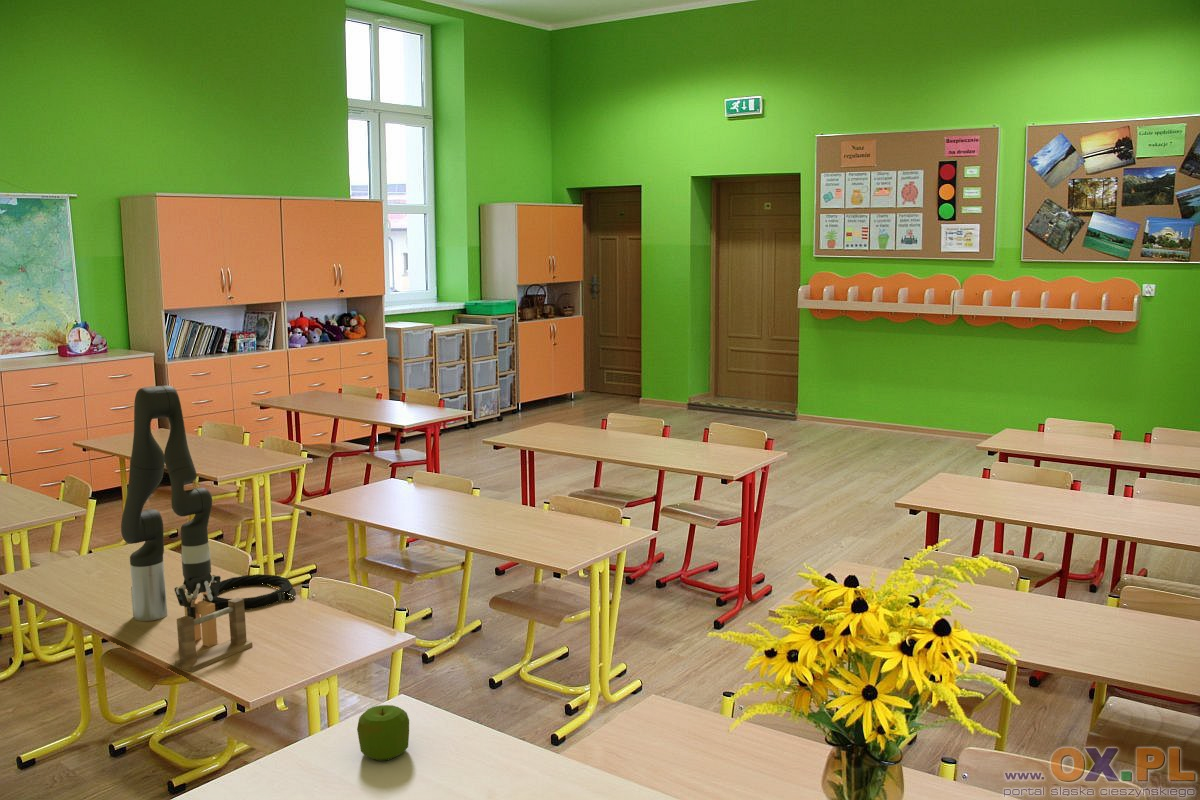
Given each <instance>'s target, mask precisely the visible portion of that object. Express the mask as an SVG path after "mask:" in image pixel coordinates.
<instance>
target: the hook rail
mask: <svg viewBox="0 0 1200 800" xmlns="http://www.w3.org/2000/svg"><path fill="white" fill-rule="evenodd" d="M230 599H231V600H229V601H228V607H227V608H224V609H218V610H217V611H216V610H215V612H214V613H211V614H208V615H205V616H203V617H201V616H200V618H197V619H194V618H193V617H190V616H185V615H184V616H182V617H179V618H176V628H177V629H176V631H177V640H178V642H177V643H178V655H179V660H176V661H174V662H173V663H174V667H175V668H178V669H181V670H185V671H188V672H190V673H191V672H193V671H194V672H195V671H196V670H199V669H201V668H203V667H206V666H208V665H210V664H213V663H216V662H219V661H220V660H223V659H225V658H227V657H230V656H232V655H234V654H235V655H236V654H238V653H239V652H242V651H244V650H246V649H249V648H252V647H253V641H251V640H250V641H249V640H247V628H246V627H247V625H246V611H245V610H246V609H245V608H244V599H242V598H240V597H234V598H230ZM227 614H228V619H229V621H228V622H229V633H230V634H229V635H230V639H229V640H227V641H224V642H221V643H219V644H218V643H217V644H215V645H212V646H210V647H209V648H205V649H204V650H201V651H198V652H197V647H196V645H197V644H196V641H195V631H194V626H195V625H198V624H200V625H201V623H203V622H206V621H209V620H211V619H214V618H216V619H217V618H219V617H222V616H224V615H227Z"/></svg>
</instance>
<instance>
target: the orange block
mask: <svg viewBox="0 0 1200 800" xmlns="http://www.w3.org/2000/svg"><path fill="white" fill-rule="evenodd" d="M194 607H195V614H196V619H197V618H200V617H203V616H205V615H208V614H211V613H214V612H216V608H215V604H214V603H210V602H207V601H203V599H198V598H197V599H196V600H195V604H194ZM183 610H184V616H187V607H184V606H183ZM194 631H195V642H196V641H199V640H201V639H202V646H205V647H209V648H211V647H213V646H216V645H218V631H217V618H214V619H211V620H209V621H206V622H203V623H201V624H198V625H195V626H194Z"/></svg>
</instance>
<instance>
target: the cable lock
mask: <svg viewBox="0 0 1200 800" xmlns="http://www.w3.org/2000/svg"><path fill="white" fill-rule="evenodd" d="M262 583H263V584H265V585H263V584H262ZM256 584H258V586H259V584H261V585H260V586H273V587H275V588H276V587H278V589H277V590H274V591H273V592H270V593H265V594H262V595H258V596H253V597H252V596H251V597H244V598H243V597H242V598H241V599H244V608H245V610H250V609H251V608H252V609H256V608H257V607H258V608H261V607H262V606H263V607H266V605H267V606H270V605H269V604H271V605H272V604H275V603H282V602H284V601H287V600H288V599H289V598H290V600H291V597H292V598H294V599H295V598H296V596H297V592H296V589H295V588H294V587H293V584H292V583H291V581H290V580H289V579H287V578H286V577H284V576H280V575H273V574H262V573H261V574H259V573H257V574H249V575H248V574H246V575H242V576H235V577H230V578H227V579H224V580H220V585H219V592H218V595H219V594H220V593H223V592H224V591H223V590H226V591H228V590H230V588H232V589H234V588H233V587H237V588H240V587H239V586H241V587H245V586H256ZM227 589H228V590H227ZM222 591H223V592H222ZM284 592H285V593H284ZM287 593H288V594H291V595H288V594H287ZM292 595H293V596H292ZM294 596H295V597H294ZM231 599H232V598H225V597H219V596H217V597H214V598H213V600H212V603H214V604H215V609H218V610H222V609H224V608H227V607H228V601H229V600H231ZM202 600H203V601H204V600H205V599H204V597H203V598H202ZM277 601H278V602H277ZM281 601H282V602H281ZM288 601H289V600H288Z"/></svg>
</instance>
